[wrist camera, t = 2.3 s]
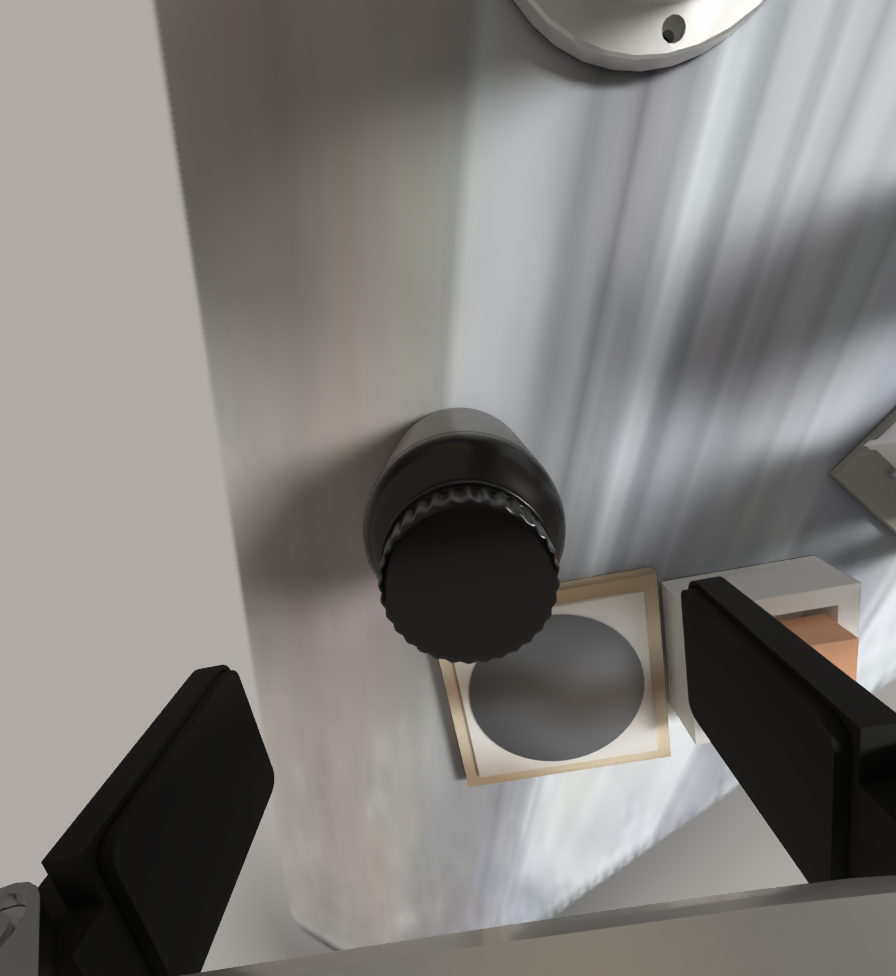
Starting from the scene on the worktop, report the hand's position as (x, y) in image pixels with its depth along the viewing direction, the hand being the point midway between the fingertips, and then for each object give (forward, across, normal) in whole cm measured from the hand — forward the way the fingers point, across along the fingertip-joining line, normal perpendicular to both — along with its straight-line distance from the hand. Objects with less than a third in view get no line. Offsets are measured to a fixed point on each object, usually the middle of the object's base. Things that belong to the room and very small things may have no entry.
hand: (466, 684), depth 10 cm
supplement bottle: (+15, 0, -1) cm, 15 cm away
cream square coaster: (+15, -4, +12) cm, 20 cm away
